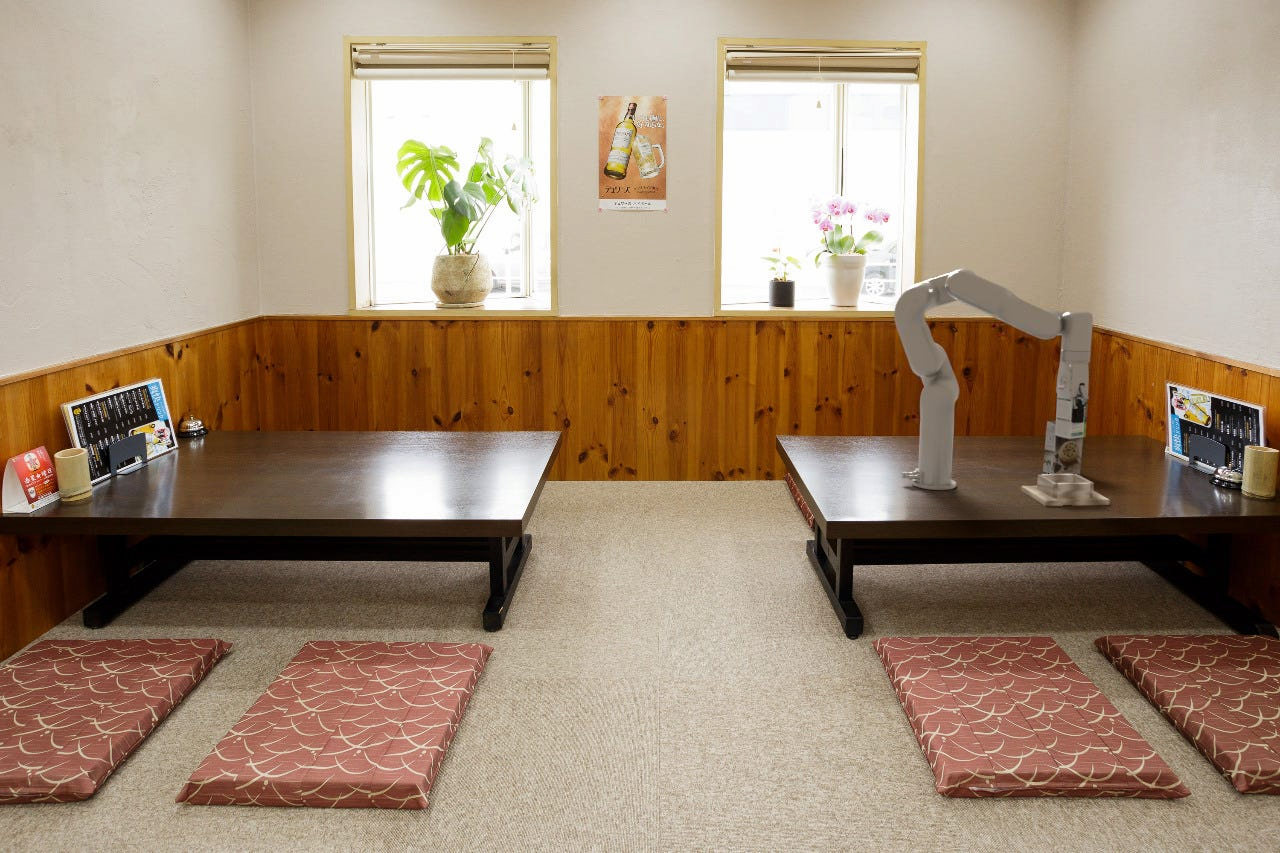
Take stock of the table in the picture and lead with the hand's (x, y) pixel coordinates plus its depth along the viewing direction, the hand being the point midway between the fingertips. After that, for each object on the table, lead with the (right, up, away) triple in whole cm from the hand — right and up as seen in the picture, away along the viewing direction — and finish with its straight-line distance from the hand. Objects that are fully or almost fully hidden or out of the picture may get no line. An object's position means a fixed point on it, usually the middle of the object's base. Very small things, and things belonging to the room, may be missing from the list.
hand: (1070, 419), depth 287 cm
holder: (0, -22, +5) cm, 22 cm away
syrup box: (0, -5, +1) cm, 5 cm away
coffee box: (+11, -17, +33) cm, 38 cm away
